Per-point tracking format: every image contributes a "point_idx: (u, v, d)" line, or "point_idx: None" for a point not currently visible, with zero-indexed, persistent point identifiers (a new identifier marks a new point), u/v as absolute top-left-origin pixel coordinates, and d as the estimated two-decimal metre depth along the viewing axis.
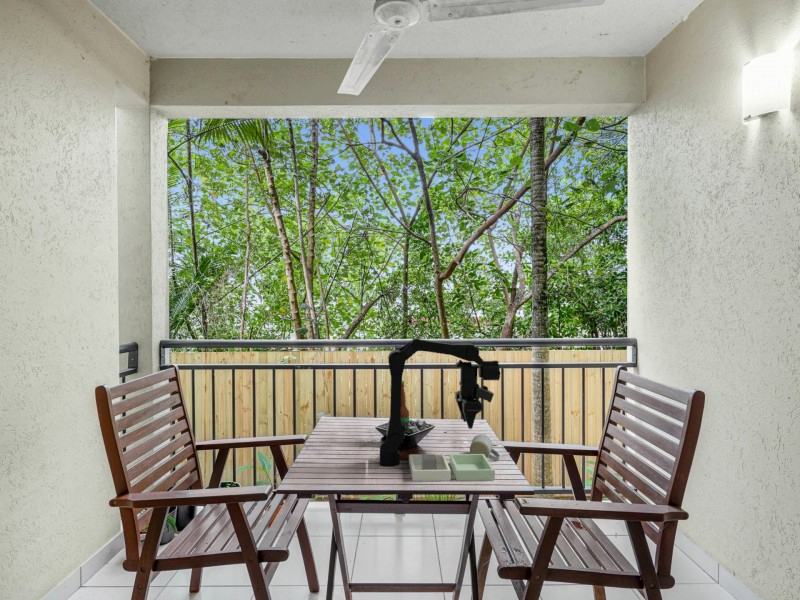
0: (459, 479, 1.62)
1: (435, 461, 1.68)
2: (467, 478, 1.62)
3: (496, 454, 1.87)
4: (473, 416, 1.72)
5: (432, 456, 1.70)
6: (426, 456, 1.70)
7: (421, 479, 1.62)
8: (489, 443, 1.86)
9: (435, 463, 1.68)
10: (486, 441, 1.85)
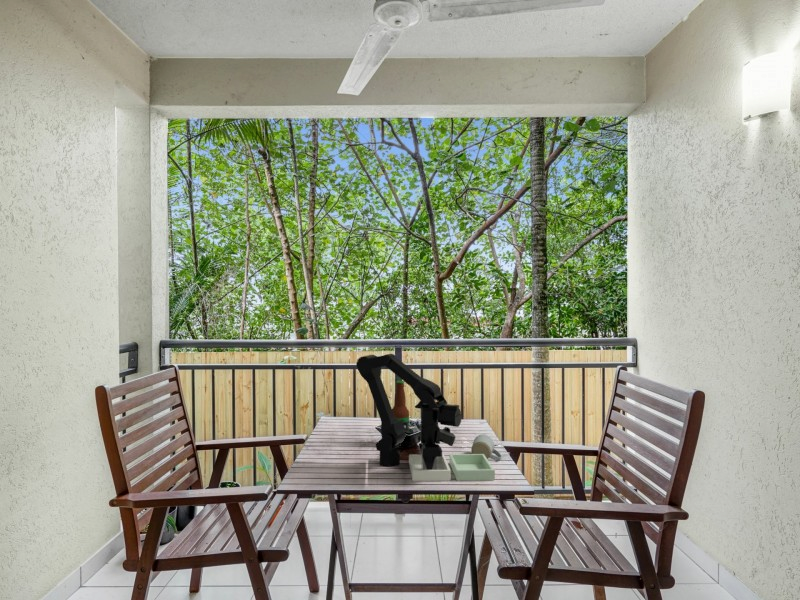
0: (459, 479, 1.62)
1: (435, 461, 1.68)
2: (467, 478, 1.62)
3: (498, 454, 1.87)
4: (432, 459, 1.66)
5: None
6: None
7: (421, 479, 1.62)
8: (491, 443, 1.86)
9: (435, 463, 1.68)
10: (488, 441, 1.85)
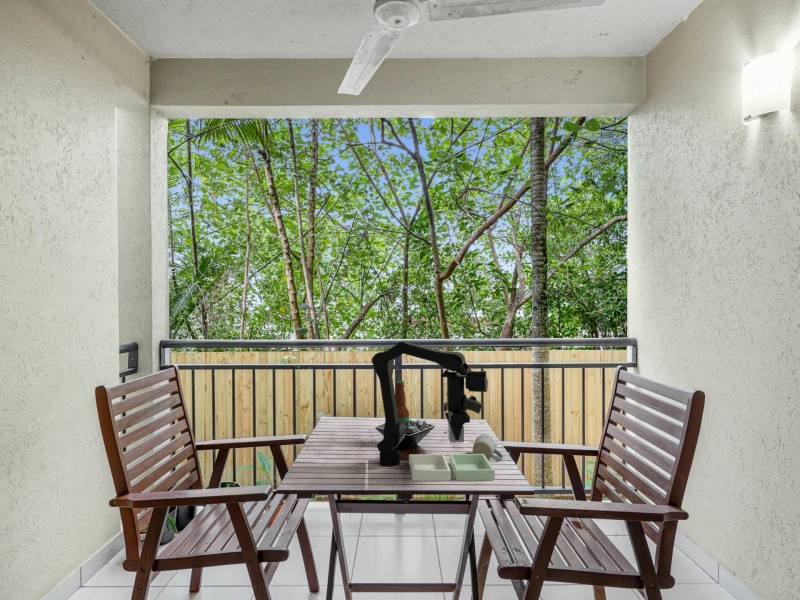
0: (459, 479, 1.62)
1: (462, 429, 1.68)
2: (467, 478, 1.62)
3: (499, 454, 1.87)
4: (459, 427, 1.66)
5: None
6: None
7: (421, 479, 1.62)
8: (492, 443, 1.86)
9: (462, 431, 1.68)
10: (489, 441, 1.85)
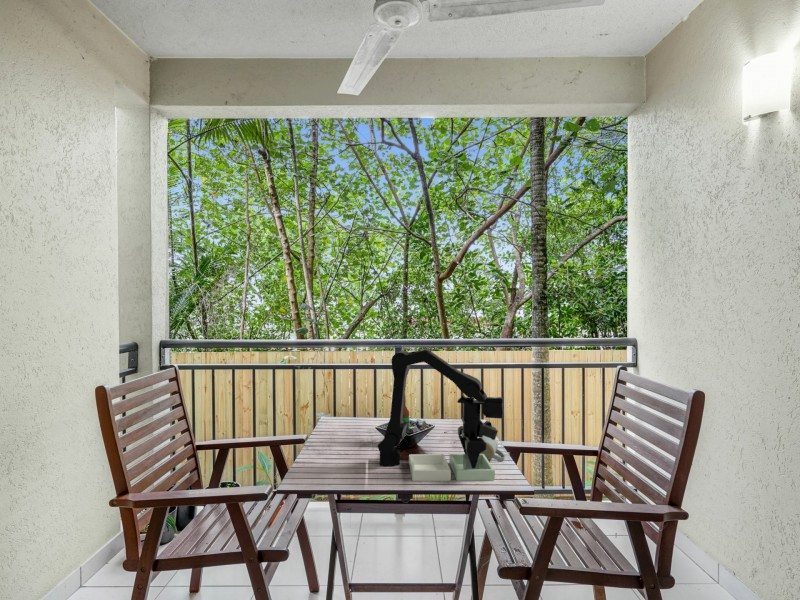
0: (459, 479, 1.62)
1: (478, 461, 1.68)
2: (467, 478, 1.62)
3: (501, 454, 1.87)
4: (476, 455, 1.65)
5: None
6: None
7: (421, 479, 1.62)
8: (494, 443, 1.86)
9: (478, 463, 1.68)
10: (491, 441, 1.85)
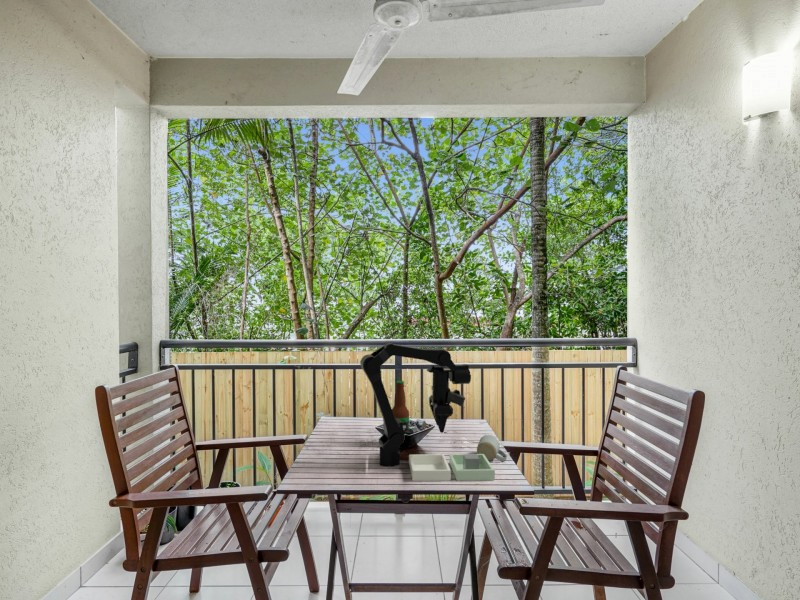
0: (459, 479, 1.62)
1: (478, 461, 1.68)
2: (467, 478, 1.62)
3: (503, 455, 1.87)
4: (444, 420, 1.75)
5: (474, 456, 1.71)
6: (468, 456, 1.71)
7: (421, 479, 1.62)
8: (496, 444, 1.85)
9: (478, 463, 1.68)
10: (493, 442, 1.84)
